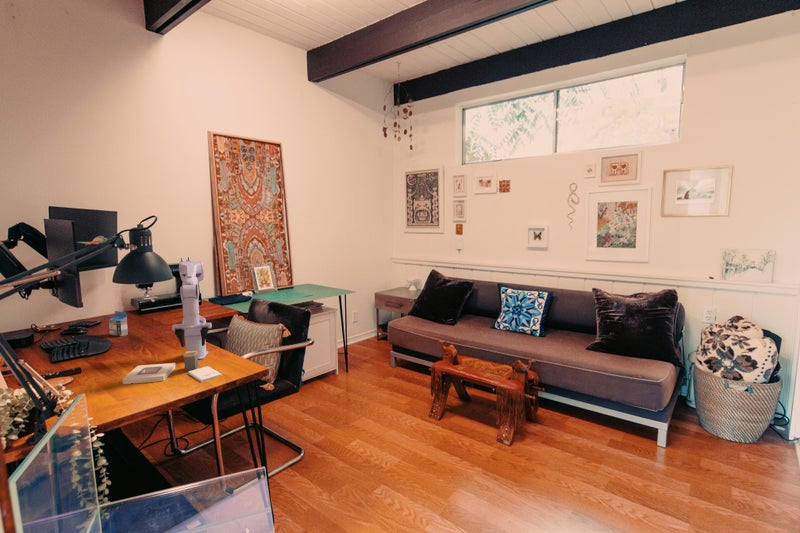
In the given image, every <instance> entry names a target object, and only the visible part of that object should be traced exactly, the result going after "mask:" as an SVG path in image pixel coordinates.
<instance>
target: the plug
mask: <svg viewBox="0 0 800 533" xmlns="http://www.w3.org/2000/svg"><path fill="white" fill-rule="evenodd" d="M197 353H198V351H187V350H186V351H185V352H184V354H183V359H184V360H183V362H184V371H185V372H189V371H192V370H195V369H199V361H198V360H199V359H198V356H197Z"/></svg>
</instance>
